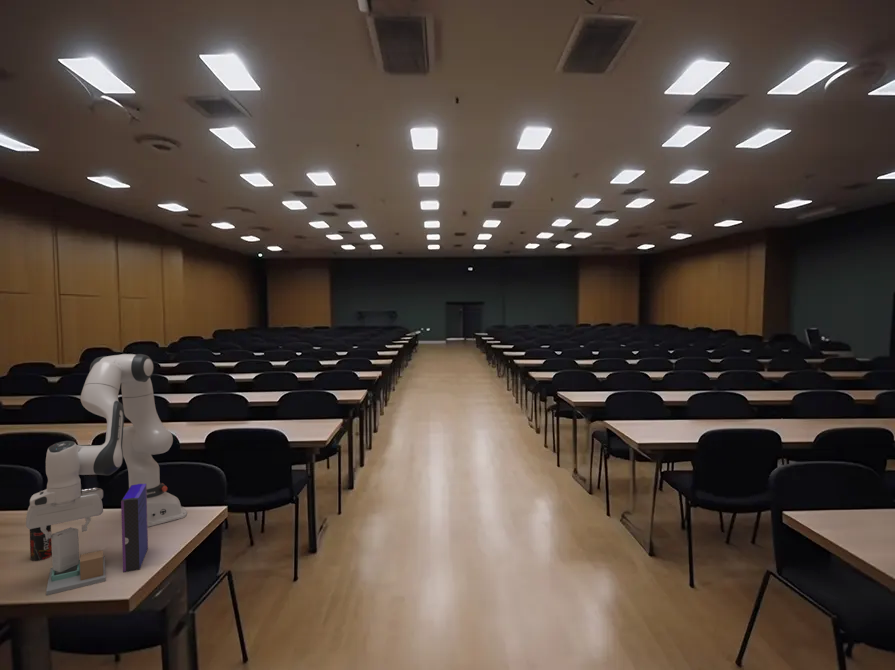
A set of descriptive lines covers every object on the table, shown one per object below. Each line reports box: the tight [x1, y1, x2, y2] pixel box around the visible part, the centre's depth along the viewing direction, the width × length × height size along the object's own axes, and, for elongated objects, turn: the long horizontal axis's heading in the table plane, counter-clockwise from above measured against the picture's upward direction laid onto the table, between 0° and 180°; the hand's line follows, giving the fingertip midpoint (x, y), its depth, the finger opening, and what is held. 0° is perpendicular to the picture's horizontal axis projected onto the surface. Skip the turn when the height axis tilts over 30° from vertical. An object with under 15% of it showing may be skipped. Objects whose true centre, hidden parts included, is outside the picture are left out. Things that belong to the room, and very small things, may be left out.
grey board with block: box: [45, 549, 106, 596], centre depth 170 cm, size 15×18×7 cm
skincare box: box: [51, 527, 80, 572], centre depth 170 cm, size 6×4×12 cm
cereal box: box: [120, 484, 149, 573], centre depth 181 cm, size 17×5×24 cm, turn 22°
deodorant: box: [29, 525, 52, 562], centre depth 183 cm, size 6×6×15 cm
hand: (66, 534), depth 170 cm, fingers open, 8 cm apart
